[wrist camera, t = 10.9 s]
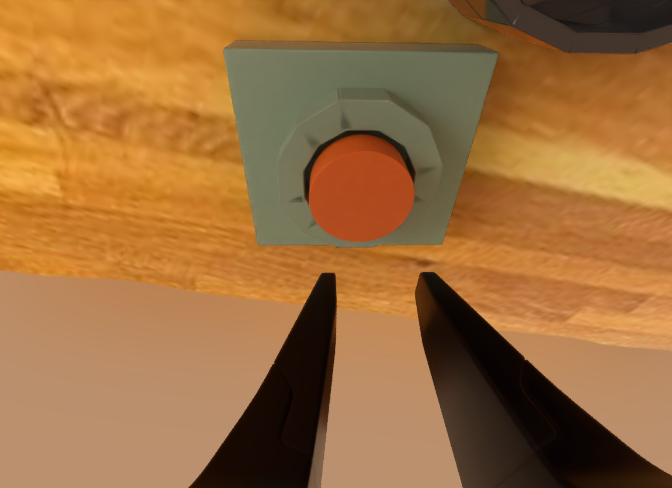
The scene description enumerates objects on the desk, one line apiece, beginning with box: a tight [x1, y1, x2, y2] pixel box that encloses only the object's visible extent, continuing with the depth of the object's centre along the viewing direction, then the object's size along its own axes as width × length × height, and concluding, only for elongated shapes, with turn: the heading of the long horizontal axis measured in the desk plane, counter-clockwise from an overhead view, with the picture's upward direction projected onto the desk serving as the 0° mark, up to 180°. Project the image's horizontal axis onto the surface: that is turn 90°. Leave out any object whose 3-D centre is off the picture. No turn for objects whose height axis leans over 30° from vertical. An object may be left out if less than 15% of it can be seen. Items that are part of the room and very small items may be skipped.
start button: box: [309, 134, 414, 242], centre depth 14 cm, size 4×4×2 cm
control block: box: [223, 40, 499, 247], centre depth 16 cm, size 11×10×4 cm
